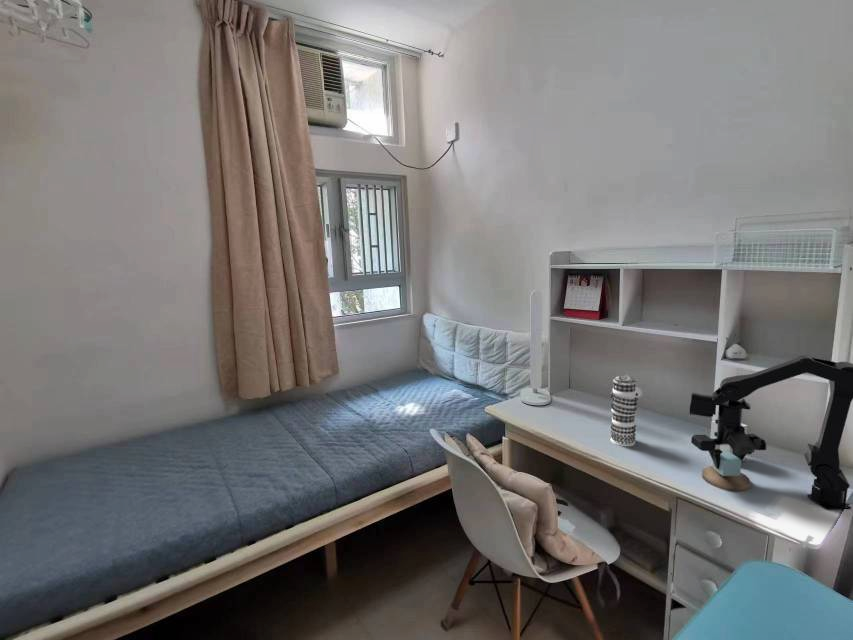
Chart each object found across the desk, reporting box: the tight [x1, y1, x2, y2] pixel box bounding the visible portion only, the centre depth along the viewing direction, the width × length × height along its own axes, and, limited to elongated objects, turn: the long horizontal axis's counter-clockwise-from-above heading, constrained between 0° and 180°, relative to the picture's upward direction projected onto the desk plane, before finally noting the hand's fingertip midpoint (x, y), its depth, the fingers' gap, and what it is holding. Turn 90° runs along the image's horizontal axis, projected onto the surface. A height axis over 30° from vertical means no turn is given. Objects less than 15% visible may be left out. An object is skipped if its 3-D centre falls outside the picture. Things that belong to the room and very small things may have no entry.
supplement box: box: [708, 420, 749, 462], centre depth 142 cm, size 7×7×13 cm
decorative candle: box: [610, 375, 639, 447], centre depth 157 cm, size 9×9×25 cm
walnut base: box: [701, 465, 751, 492], centre depth 130 cm, size 12×12×2 cm
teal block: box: [712, 452, 742, 476], centre depth 129 cm, size 5×5×5 cm
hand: (726, 468), depth 129 cm, fingers closed on teal block, 5 cm apart
